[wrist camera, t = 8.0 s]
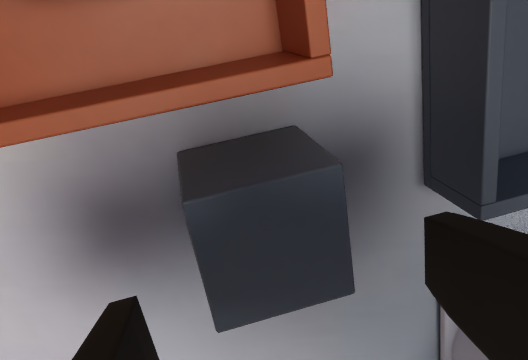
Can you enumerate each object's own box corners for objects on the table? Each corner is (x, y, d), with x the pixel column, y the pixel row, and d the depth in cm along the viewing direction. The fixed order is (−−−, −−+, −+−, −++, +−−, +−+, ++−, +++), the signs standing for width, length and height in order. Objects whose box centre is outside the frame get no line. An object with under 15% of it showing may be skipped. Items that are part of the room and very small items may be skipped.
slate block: (311, 228, 17) (356, 294, 13) (204, 256, 17) (216, 334, 13) (296, 124, 16) (343, 162, 11) (176, 151, 15) (180, 202, 11)
